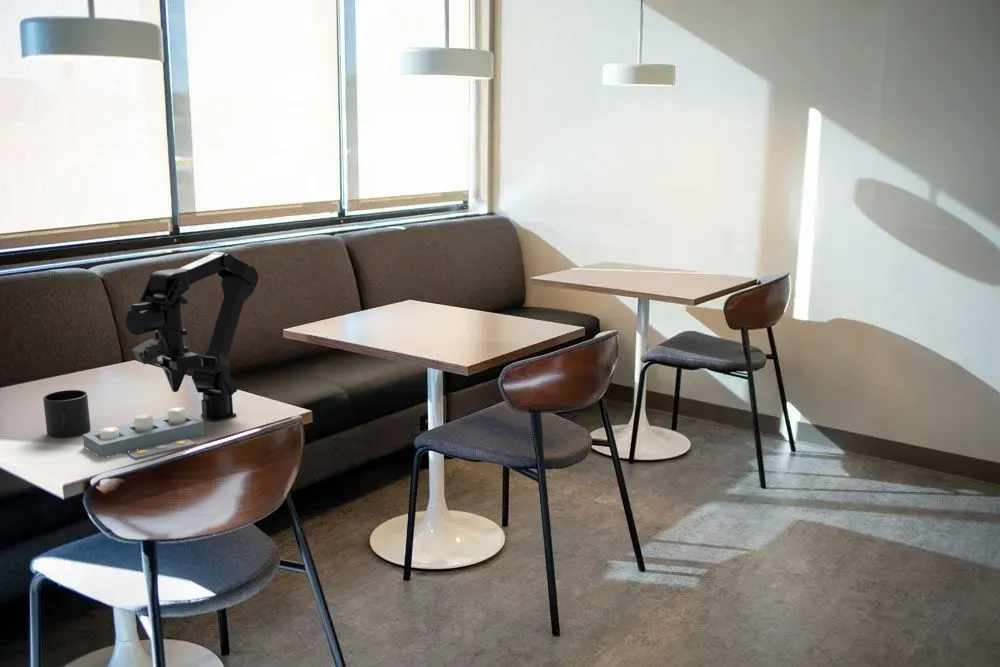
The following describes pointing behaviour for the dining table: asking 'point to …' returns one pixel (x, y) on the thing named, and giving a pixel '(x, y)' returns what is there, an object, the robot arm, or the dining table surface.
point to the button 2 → (176, 415)
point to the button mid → (143, 423)
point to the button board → (143, 436)
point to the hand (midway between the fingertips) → (175, 391)
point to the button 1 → (109, 433)
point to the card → (160, 448)
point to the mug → (66, 413)
